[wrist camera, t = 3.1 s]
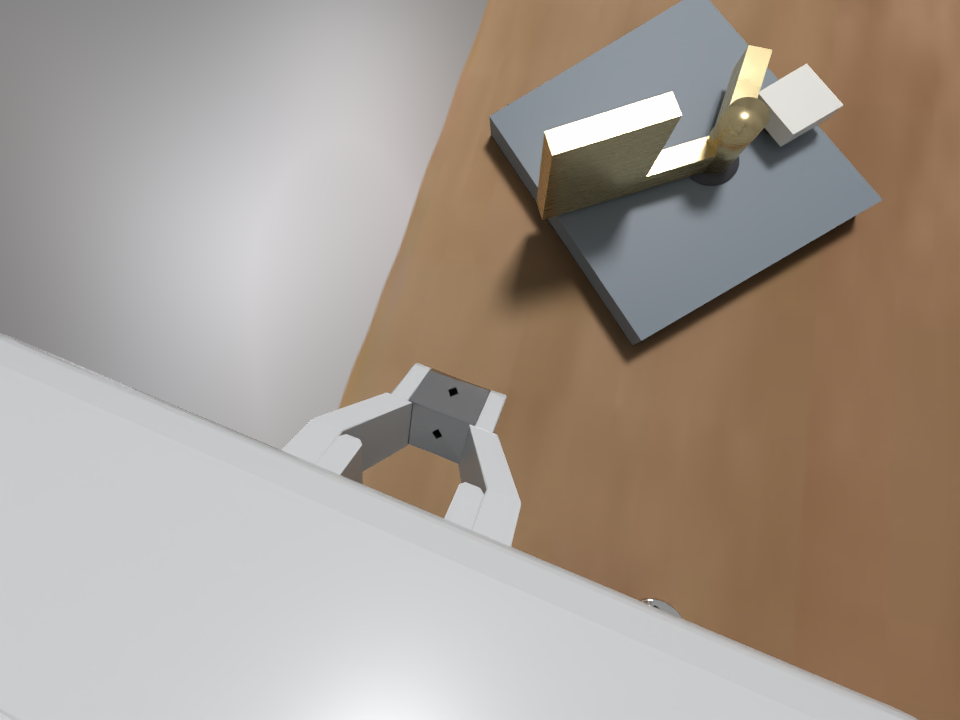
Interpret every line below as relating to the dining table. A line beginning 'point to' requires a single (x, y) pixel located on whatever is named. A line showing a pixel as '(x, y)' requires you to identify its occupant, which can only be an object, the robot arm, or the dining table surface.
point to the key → (647, 144)
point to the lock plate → (691, 200)
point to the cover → (797, 104)
